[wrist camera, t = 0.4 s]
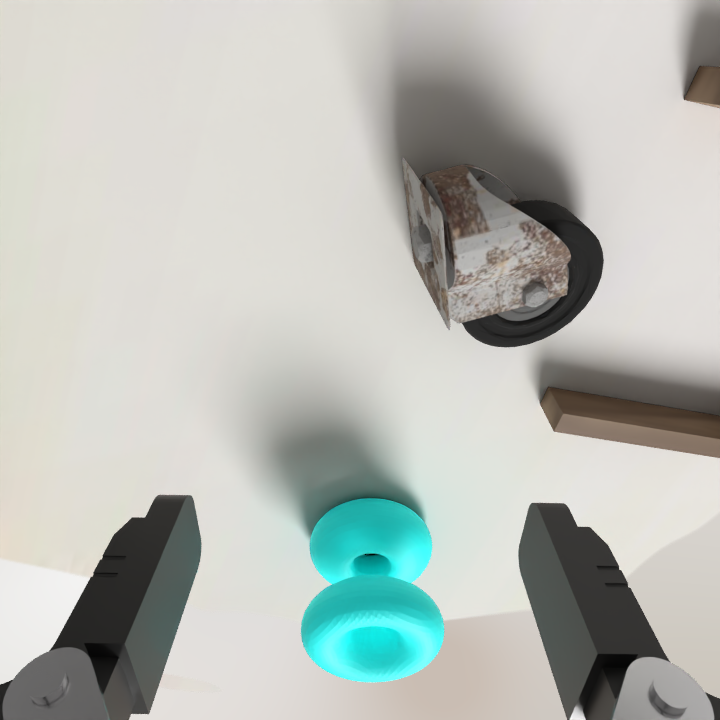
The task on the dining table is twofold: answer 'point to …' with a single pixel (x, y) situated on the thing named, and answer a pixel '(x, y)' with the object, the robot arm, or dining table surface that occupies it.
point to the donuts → (371, 593)
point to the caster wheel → (499, 256)
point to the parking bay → (637, 418)
